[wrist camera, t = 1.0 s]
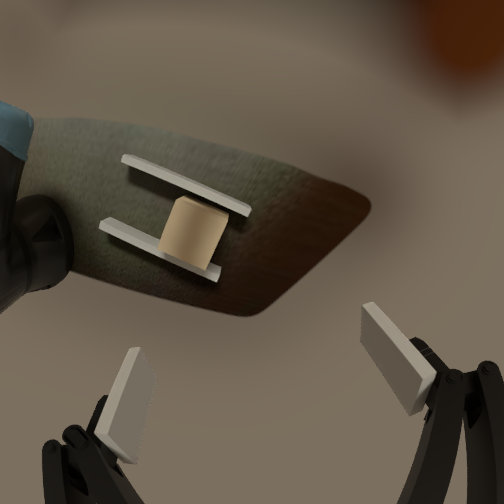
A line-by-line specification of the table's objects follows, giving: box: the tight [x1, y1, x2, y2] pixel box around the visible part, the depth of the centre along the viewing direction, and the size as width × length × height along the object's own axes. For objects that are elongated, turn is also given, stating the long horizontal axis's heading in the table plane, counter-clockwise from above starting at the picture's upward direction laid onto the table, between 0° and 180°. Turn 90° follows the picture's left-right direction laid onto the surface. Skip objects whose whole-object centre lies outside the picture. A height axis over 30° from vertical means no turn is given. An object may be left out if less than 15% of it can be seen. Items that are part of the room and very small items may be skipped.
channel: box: [99, 154, 251, 282], centre depth 33 cm, size 17×10×3 cm, turn 64°
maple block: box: [157, 194, 229, 271], centre depth 32 cm, size 6×6×6 cm
